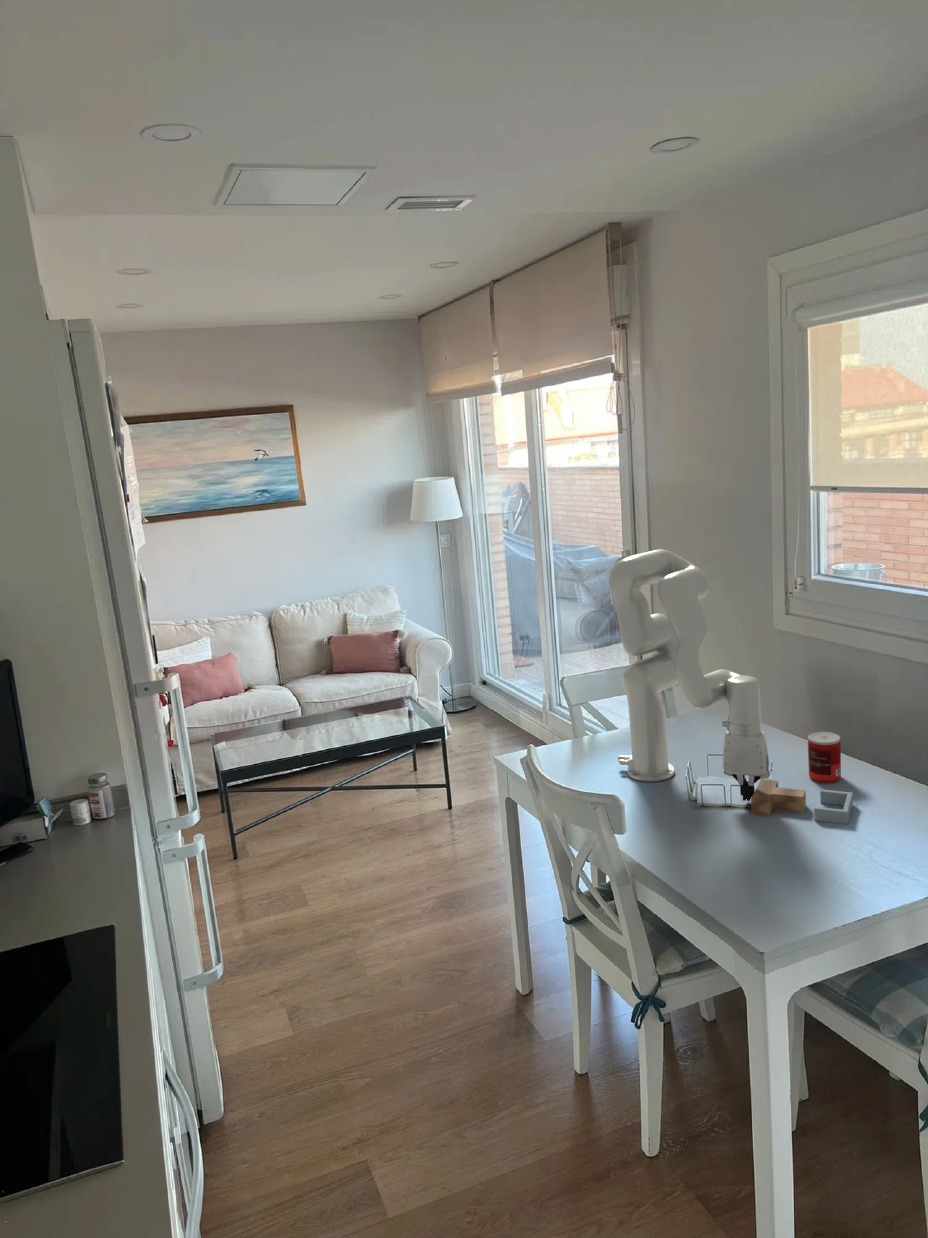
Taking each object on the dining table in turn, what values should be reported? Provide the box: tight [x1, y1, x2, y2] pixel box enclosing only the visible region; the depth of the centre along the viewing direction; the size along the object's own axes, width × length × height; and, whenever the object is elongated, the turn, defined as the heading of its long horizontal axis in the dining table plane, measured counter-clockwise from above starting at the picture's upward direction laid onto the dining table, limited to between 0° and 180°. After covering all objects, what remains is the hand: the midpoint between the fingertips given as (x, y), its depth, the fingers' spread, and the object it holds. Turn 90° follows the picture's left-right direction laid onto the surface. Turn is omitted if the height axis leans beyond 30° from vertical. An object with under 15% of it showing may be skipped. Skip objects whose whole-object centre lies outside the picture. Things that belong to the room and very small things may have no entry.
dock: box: [813, 789, 854, 825], centre depth 209 cm, size 7×11×3 cm, turn 151°
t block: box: [750, 779, 807, 817], centre depth 214 cm, size 11×12×4 cm
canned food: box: [807, 731, 842, 784], centre depth 227 cm, size 8×8×11 cm
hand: (747, 798), depth 218 cm, fingers closed
